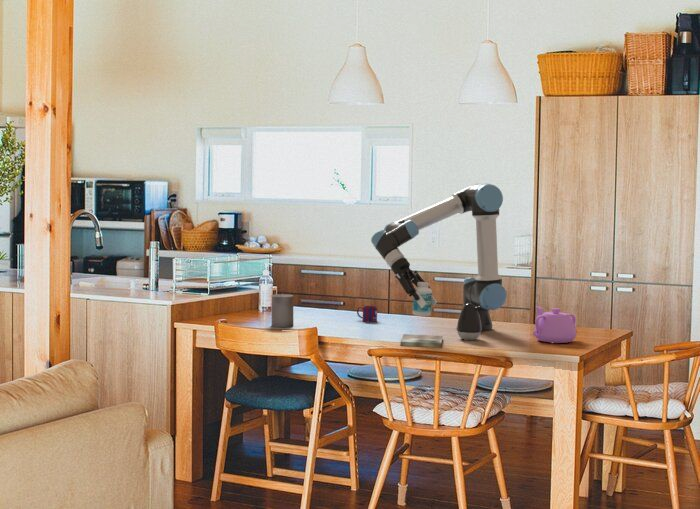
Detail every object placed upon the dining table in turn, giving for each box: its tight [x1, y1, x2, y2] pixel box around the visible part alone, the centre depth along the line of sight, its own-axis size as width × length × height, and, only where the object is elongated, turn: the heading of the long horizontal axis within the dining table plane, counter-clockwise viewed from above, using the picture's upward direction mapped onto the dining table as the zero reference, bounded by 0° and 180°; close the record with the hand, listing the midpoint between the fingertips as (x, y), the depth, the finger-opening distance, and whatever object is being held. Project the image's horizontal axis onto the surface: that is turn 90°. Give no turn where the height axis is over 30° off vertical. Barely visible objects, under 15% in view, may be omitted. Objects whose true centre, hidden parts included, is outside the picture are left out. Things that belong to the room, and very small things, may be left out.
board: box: [399, 333, 443, 348], centre depth 378 cm, size 16×20×2 cm
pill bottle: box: [412, 281, 433, 317], centre depth 382 cm, size 8×7×14 cm
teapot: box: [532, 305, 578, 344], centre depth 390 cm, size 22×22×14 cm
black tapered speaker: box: [456, 303, 483, 341], centre depth 388 cm, size 10×10×15 cm
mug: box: [356, 305, 378, 323], centre depth 438 cm, size 7×10×7 cm
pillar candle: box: [271, 293, 294, 328], centre depth 415 cm, size 10×10×15 cm
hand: (429, 305), depth 380 cm, fingers closed on pill bottle, 7 cm apart
